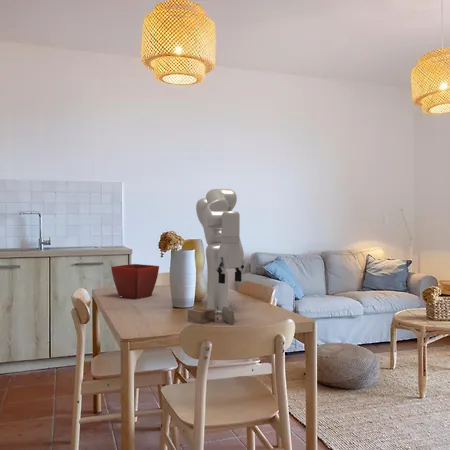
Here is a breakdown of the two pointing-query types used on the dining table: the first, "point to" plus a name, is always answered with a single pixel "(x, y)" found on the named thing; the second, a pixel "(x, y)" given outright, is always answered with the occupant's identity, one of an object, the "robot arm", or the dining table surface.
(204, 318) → the tan box
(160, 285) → the dining table surface
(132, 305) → the dining table surface
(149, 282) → the plant pot
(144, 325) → the dining table surface
